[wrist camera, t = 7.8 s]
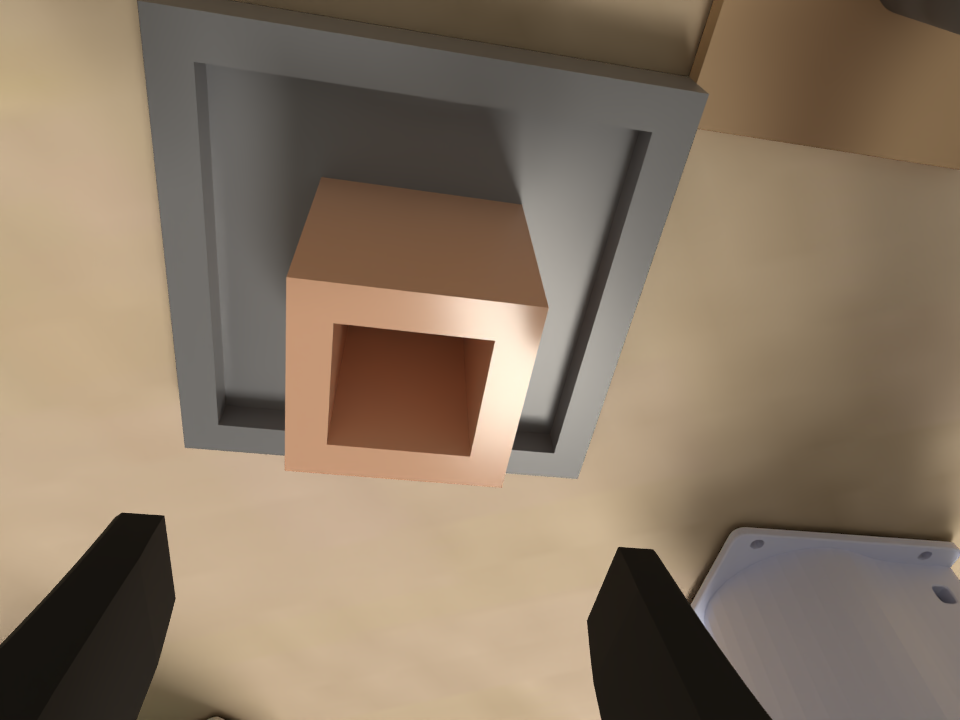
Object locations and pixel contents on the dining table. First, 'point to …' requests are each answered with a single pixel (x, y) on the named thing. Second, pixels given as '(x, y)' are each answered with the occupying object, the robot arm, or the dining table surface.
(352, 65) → the tray
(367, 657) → the dining table surface
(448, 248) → the brown cube box
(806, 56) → the stand
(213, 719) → the skincare box
